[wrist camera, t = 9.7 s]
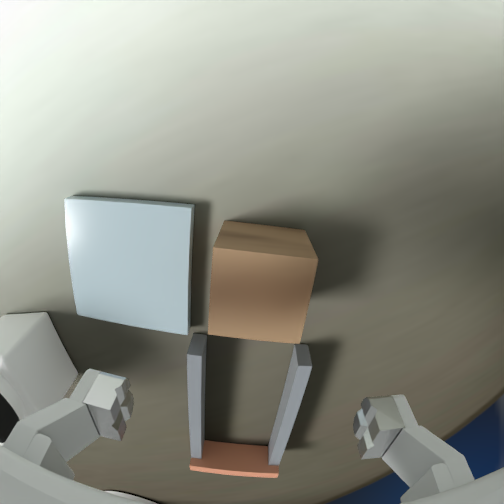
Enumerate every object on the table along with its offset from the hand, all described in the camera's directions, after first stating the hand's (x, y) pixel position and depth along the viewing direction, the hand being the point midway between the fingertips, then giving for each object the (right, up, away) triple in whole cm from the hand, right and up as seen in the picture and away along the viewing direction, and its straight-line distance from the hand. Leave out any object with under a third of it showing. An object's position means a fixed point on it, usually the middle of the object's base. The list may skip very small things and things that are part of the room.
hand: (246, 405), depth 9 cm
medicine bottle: (-20, -4, +14) cm, 25 cm away
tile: (-8, +4, +11) cm, 14 cm away
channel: (-1, -8, +15) cm, 17 cm away
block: (+1, +4, +11) cm, 12 cm away
